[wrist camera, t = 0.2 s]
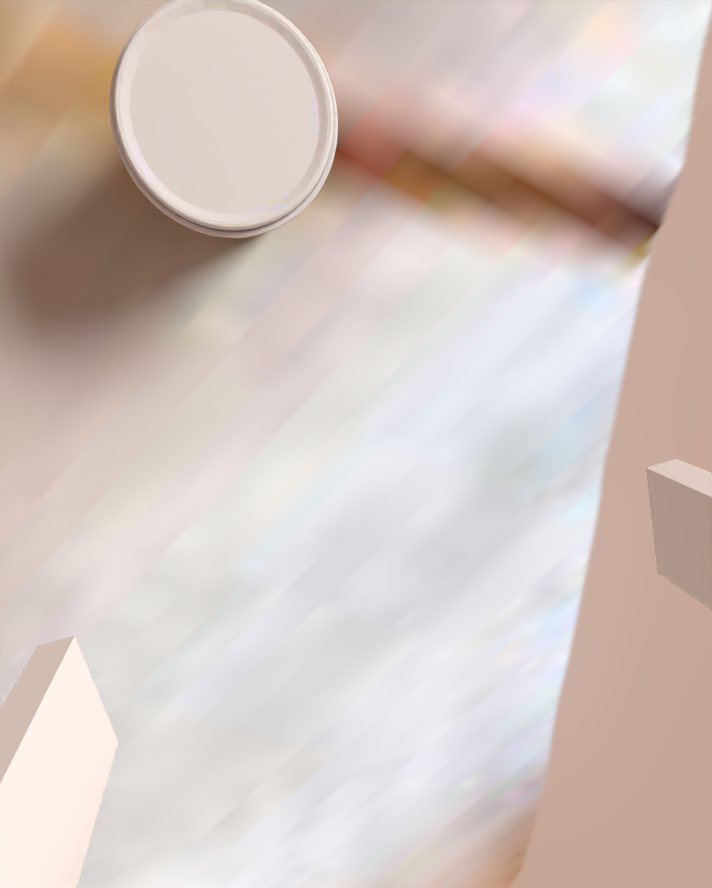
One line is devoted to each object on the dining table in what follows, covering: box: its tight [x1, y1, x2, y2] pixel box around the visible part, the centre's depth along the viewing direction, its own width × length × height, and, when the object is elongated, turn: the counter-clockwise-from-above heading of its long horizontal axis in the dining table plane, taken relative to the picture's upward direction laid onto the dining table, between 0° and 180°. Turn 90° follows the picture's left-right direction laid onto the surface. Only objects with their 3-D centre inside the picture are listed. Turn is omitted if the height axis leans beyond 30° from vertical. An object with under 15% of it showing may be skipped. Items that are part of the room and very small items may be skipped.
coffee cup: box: [110, 0, 338, 238], centre depth 31 cm, size 9×9×12 cm
